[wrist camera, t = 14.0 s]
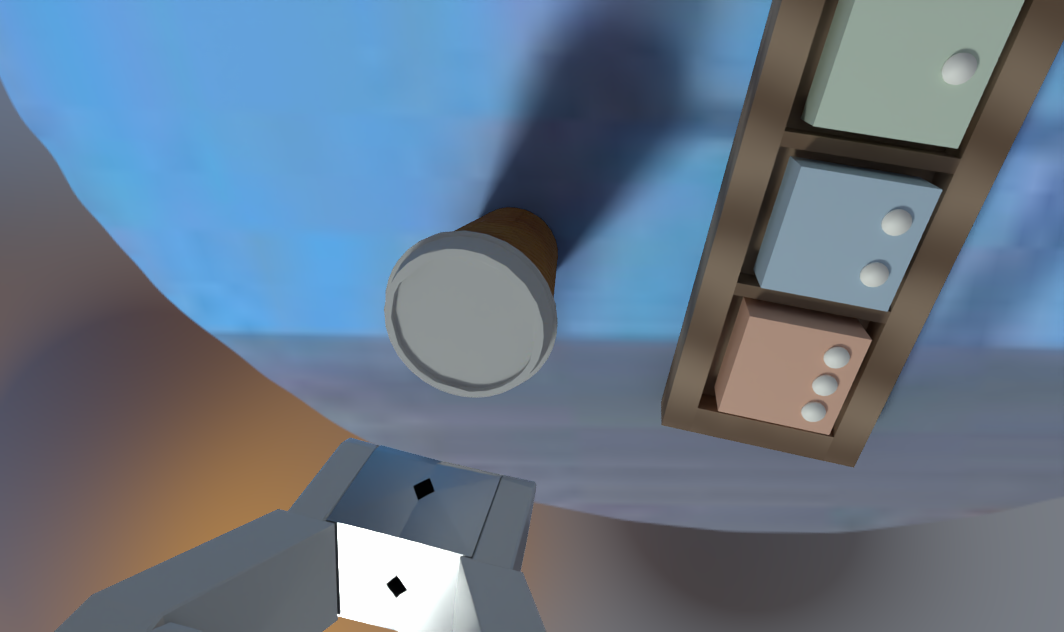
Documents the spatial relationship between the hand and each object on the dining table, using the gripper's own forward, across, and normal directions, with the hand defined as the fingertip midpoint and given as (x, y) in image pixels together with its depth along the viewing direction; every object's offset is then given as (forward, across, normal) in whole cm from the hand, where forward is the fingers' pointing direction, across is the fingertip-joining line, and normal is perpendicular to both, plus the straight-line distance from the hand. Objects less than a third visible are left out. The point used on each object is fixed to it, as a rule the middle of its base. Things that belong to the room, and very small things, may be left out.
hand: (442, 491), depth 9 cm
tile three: (+30, -14, +11) cm, 35 cm away
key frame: (+31, -14, +2) cm, 34 cm away
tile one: (+30, -14, -7) cm, 34 cm away
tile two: (+29, -14, +2) cm, 33 cm away
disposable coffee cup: (+31, +5, +8) cm, 33 cm away
